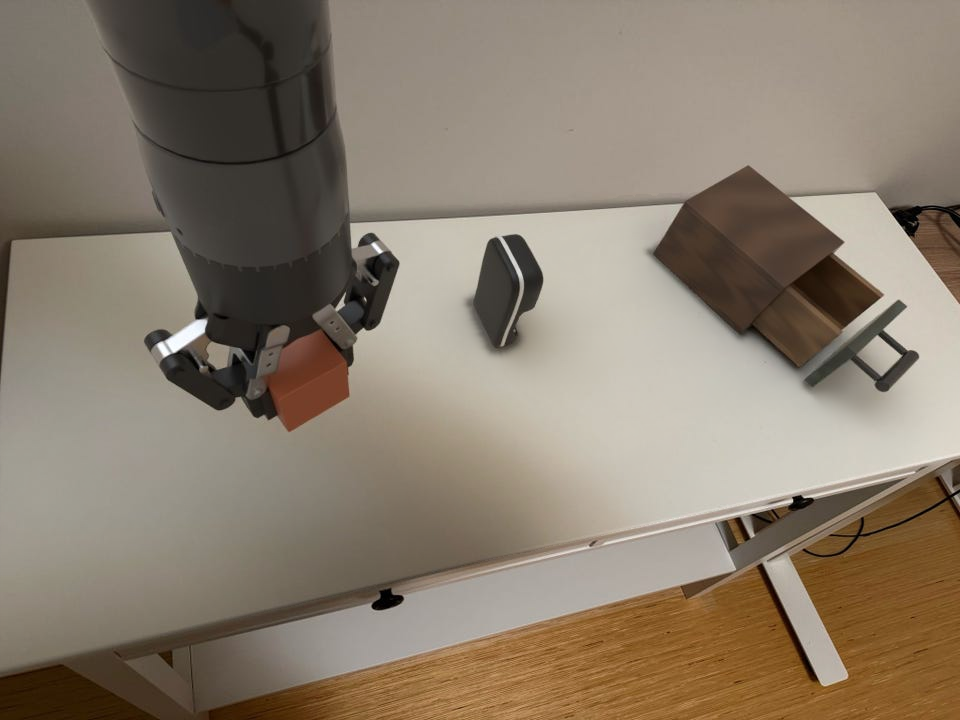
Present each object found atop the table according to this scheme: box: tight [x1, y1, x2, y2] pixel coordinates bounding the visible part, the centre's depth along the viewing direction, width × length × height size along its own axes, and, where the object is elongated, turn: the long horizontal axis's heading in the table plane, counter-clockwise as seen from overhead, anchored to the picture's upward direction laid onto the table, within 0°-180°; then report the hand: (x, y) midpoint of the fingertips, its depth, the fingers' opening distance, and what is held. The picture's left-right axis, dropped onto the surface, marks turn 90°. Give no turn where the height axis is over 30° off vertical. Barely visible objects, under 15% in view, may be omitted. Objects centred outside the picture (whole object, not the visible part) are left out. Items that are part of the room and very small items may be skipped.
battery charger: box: [473, 233, 544, 348], centre depth 60 cm, size 7×4×11 cm, turn 22°
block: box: [267, 329, 350, 433], centre depth 38 cm, size 5×5×5 cm
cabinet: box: [652, 164, 845, 335], centre depth 71 cm, size 15×13×9 cm
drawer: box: [752, 253, 920, 393], centre depth 67 cm, size 18×11×7 cm, turn 39°
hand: (302, 386), depth 39 cm, fingers closed on block, 4 cm apart
